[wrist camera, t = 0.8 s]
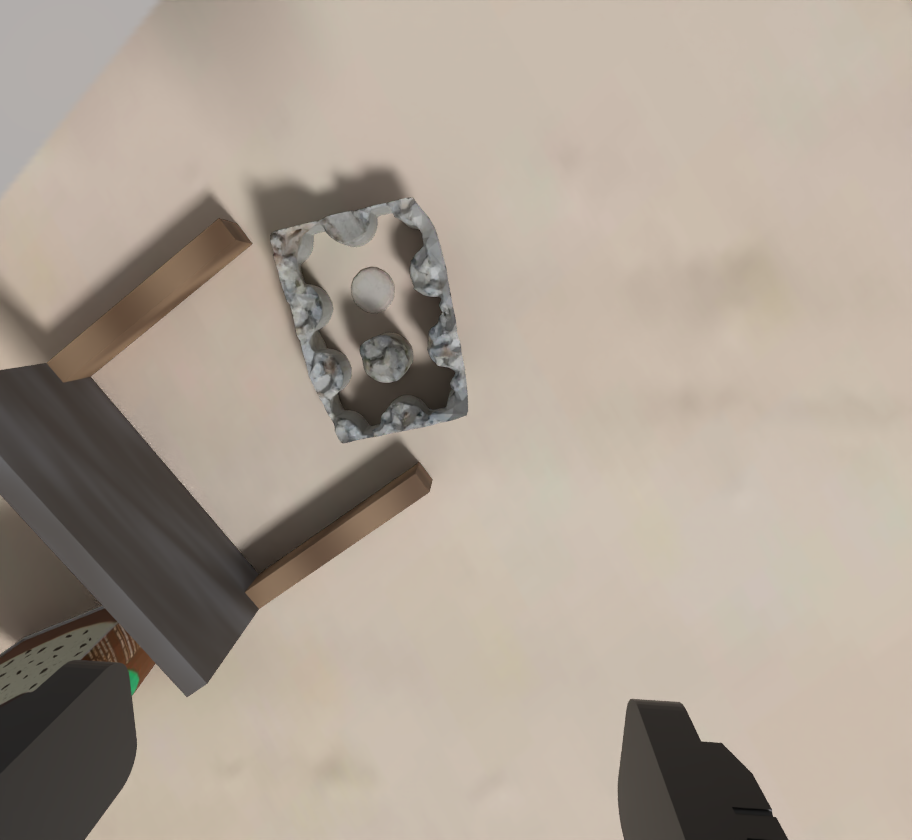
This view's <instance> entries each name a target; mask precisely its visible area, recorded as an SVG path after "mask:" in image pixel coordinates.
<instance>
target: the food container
mask: <svg viewBox="0 0 912 840" xmlns="http://www.w3.org/2000/svg"><path fill="white" fill-rule="evenodd" d="M72 660H88V661H103V662H118V663H123V664H124V665H125V666H126V667H127V669H128V672H129V676H130V685H131V694H132V695H133V694H134V693H135V691H136V690H137V688H138V687H139V686H140V684H141V683H142V682H143V680H144V679H145V677H146V676H147V675H148V673H149V672H150V670H151V669H152V668H153V666H154V665H155V664H156V663H155V662H154V661H153V660H152V659H151V658H150V657H149V655H148V654H147V653H146V652H145V651H144V650H143V649H142V648H141V647H140V646H139V645H138V644H137V642H136V641H135V640H134V639H133V638H132V637H131V636H130V635H129V634H128V633H127V632H126V630H125V629H124V628H123V627H122V626H121V625H120V624H119V623H118V622H117V621H116V620H115V619H114V617H113V616H112V615H111V614H110V613H109V612H108V611H107V610H106V609H105V608H104V607H103V606H100V607H98V608H95V609H93V610H90V611H88V612H85V613H83V614H80V615H78V616H75V617H73V618H70V619H68V620H66V621H63V622H61V623H58V624H56V625H53V626H51V627H48V628H46V629H43V630H41V631H38V632H36V633H33V634H31V635H28V636H26V637H24V638H22V639H21V640H19V641H18V642H17V643H15V644H14V645H13V646H11V647H10V648H8V649H7V650H6V651H4V652H3V653H1V654H0V708H1V707H2V706H4V705H6V704H8V703H9V702H11V701H13V700H15V699H16V698H18V697H20V696H22V695H24V694H25V693H27V692H33V691H34V690H36V689H37V688H38V687H39V686H40V685H41V684H42V683H44V682H45V681H46V680H47V679H48V678H49V677H50V676H52V675H53V674H54V673H55V672H56V671H57V670H58V669H59V668H61V667H62V666H63V665H64V664H66V663H67V662H69V661H72Z"/></svg>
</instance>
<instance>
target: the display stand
mask: <svg viewBox="0 0 912 840" xmlns="http://www.w3.org/2000/svg"><path fill="white" fill-rule="evenodd" d="M250 245H252V243H251V241H250V240H249V239H248V238H247V236H246V235H245V234H244V232H243V231H242V230H241V228H240V227H239V226H238V224H236V223H233V222H230V221H227V220H223V219H220V218H219V219H217V220H216V221H215V222H214V223H213V224H211V225H210V226H209V227H208V228H207V229H206V230H204V231H203V232H202V233H201V234H200V235H198V236H197V237H196V238H195V239H194V240H192V241H191V242H190V243H189V244H188V245H186V246H185V247H184V248H183V249H182V250H181V251H179V252H178V253H177V254H176V255H175V256H173V257H172V258H171V259H170V260H169V261H167V262H166V263H165V264H164V265H163V266H161V267H160V268H159V269H158V270H157V271H156V272H154V273H153V274H152V275H151V276H150V277H148V278H147V279H146V280H145V281H144V282H142V283H141V284H140V285H139V286H138V287H136V288H135V289H134V290H133V291H132V292H130V293H129V294H128V295H127V296H126V297H125V298H123V299H122V300H121V301H120V302H119V303H117V304H116V305H115V306H114V307H113V308H111V309H110V310H109V311H108V312H107V313H105V314H104V315H103V316H102V317H101V318H100V319H98V320H97V321H96V322H95V323H94V324H92V325H91V326H90V327H89V328H88V329H86V330H85V331H84V332H83V333H82V334H80V335H79V336H78V337H77V338H76V339H75V340H73V341H72V342H71V343H70V344H69V345H67V346H66V347H65V348H64V349H63V350H61V351H60V352H59V353H58V354H57V355H55V356H54V357H53V358H52V359H51V360H50V361H48V362H47V363H44V364H37V365H31V366H25V367H18V368H12V369H5V370H0V495H1V496H2V497H3V498H4V499H5V500H6V501H7V502H8V503H9V505H10V506H11V507H12V508H13V509H14V510H15V511H16V512H17V513H18V514H19V515H20V517H21V518H22V519H23V520H24V521H25V522H26V523H27V524H28V525H29V526H30V527H31V528H32V530H33V531H34V532H35V533H36V534H37V535H38V536H39V537H40V538H41V539H42V540H43V541H44V543H45V544H46V545H47V546H48V547H49V548H50V549H51V550H52V551H53V552H54V553H55V555H56V556H57V557H58V558H59V559H60V560H61V561H62V562H63V563H64V564H65V565H66V566H67V568H68V569H69V570H70V571H71V572H72V573H73V574H74V575H75V576H76V577H77V578H78V579H79V581H80V582H81V583H82V584H83V585H84V586H85V587H86V588H87V589H88V590H89V591H90V592H91V594H92V595H93V596H94V597H95V598H96V599H97V600H98V601H99V602H100V603H101V604H102V606H103V607H104V608H105V609H106V610H107V611H108V612H109V613H110V614H111V615H112V616H113V617H114V619H115V620H116V621H117V622H118V623H119V624H120V625H121V626H122V627H123V628H124V629H125V630H126V632H127V633H128V634H129V635H130V636H131V637H132V638H133V639H134V640H135V641H136V642H137V644H138V645H139V646H140V647H141V648H142V649H143V650H144V651H145V652H146V653H147V654H148V655H149V657H150V658H151V659H152V660H153V661H154V662H155V663H156V664H157V665H158V666H159V667H160V668H161V670H162V671H163V672H164V673H165V674H166V675H167V676H168V677H169V678H170V679H171V680H172V681H173V683H174V684H175V685H176V686H177V687H178V688H179V689H180V690H181V691H182V692H183V693H184V695H185V696H186V697H188V696H190V695H191V694H193V693H194V692H195V691H197V690H198V689H200V688H201V687H203V686H204V685H206V684H207V683H208V682H209V680H210V679H211V677H212V676H213V675H214V673H215V672H216V670H217V669H218V667H219V666H220V664H221V663H222V662H223V660H224V659H225V657H226V656H227V654H228V653H229V651H230V650H231V649H232V647H233V646H234V644H235V643H236V641H237V640H238V639H239V637H240V636H241V634H242V633H243V631H244V630H245V628H246V627H247V626H248V624H249V623H250V621H251V620H252V618H253V617H254V615H255V614H256V613H257V611H258V610H259V609H260V608H261V607H263V606H264V605H265V604H267V603H268V602H270V601H271V600H273V599H274V598H276V597H277V596H279V595H280V594H282V593H283V592H284V591H286V590H287V589H289V588H290V587H292V586H293V585H295V584H296V583H298V582H299V581H301V580H302V579H303V578H305V577H306V576H308V575H309V574H311V573H312V572H314V571H315V570H317V569H318V568H319V567H321V566H322V565H324V564H325V563H327V562H328V561H330V560H331V559H333V558H334V557H336V556H337V555H338V554H340V553H341V552H343V551H344V550H346V549H347V548H349V547H350V546H352V545H353V544H355V543H356V542H357V541H359V540H360V539H362V538H363V537H365V536H366V535H368V534H369V533H371V532H372V531H373V530H375V529H376V528H378V527H379V526H381V525H382V524H384V523H385V522H387V521H388V520H390V519H391V518H392V517H394V516H395V515H397V514H398V513H400V512H401V511H403V510H404V509H406V508H407V507H409V506H410V505H411V504H413V503H414V502H416V501H417V500H419V499H420V498H422V497H423V496H425V495H426V494H427V493H429V492H430V488H431V484H432V478H431V477H430V476H429V474H428V473H427V472H426V470H425V469H424V468H423V466H422V465H421V464H420V463H418V464H416V465H415V466H413V467H412V468H410V469H409V470H408V471H406V472H405V473H403V474H402V475H400V476H399V477H397V478H396V479H395V480H393V481H392V482H390V483H389V484H387V485H386V486H385V487H383V488H382V489H380V490H379V491H377V492H376V493H375V494H373V495H372V496H370V497H369V498H367V499H366V500H365V501H363V502H362V503H360V504H359V505H357V506H356V507H355V508H353V509H352V510H350V511H349V512H347V513H346V514H344V515H343V516H342V517H340V518H339V519H337V520H336V521H334V522H333V523H332V524H330V525H329V526H327V527H326V528H324V529H323V530H322V531H320V532H319V533H317V534H316V535H314V536H313V537H312V538H310V539H309V540H307V541H306V542H304V543H303V544H301V545H300V546H299V547H297V548H296V549H294V550H293V551H291V552H290V553H289V554H287V555H286V556H284V557H283V558H281V559H280V560H279V561H277V562H276V563H274V564H273V565H271V566H270V567H269V568H267V569H266V570H264V571H263V572H261V573H260V574H258V573H257V572H256V571H255V569H254V568H253V567H252V566H251V565H250V564H249V562H248V561H247V560H246V559H245V558H244V557H243V555H242V554H241V553H240V552H239V551H238V549H237V548H236V547H235V546H234V545H233V544H232V542H231V541H230V540H229V539H228V538H227V537H226V535H225V534H224V533H223V532H222V531H221V530H220V528H219V527H218V526H217V525H216V524H215V523H214V521H213V520H212V519H211V518H210V517H209V516H208V514H207V513H206V512H205V511H204V510H203V509H202V507H201V506H200V505H199V504H198V503H197V501H196V500H195V499H194V498H193V497H192V496H191V494H190V493H189V492H188V491H187V490H186V489H185V487H184V486H183V485H182V484H181V483H180V482H179V480H178V479H177V478H176V477H175V476H174V475H173V473H172V472H171V471H170V470H169V469H168V468H167V466H166V465H165V464H164V463H163V462H162V460H161V459H160V458H159V457H158V456H157V455H156V453H155V452H154V451H153V450H152V449H151V448H150V446H149V445H148V444H147V443H146V442H145V441H144V439H143V438H142V437H141V436H140V435H139V434H138V432H137V431H136V430H135V429H134V428H133V427H132V425H131V424H130V423H129V422H128V421H127V420H126V418H125V417H124V416H123V415H122V414H121V412H120V411H119V410H118V409H117V408H116V407H115V405H114V404H113V403H112V402H111V401H110V400H109V398H108V397H107V396H106V395H105V394H104V393H103V391H102V390H101V389H100V388H99V387H98V386H97V384H96V383H95V382H94V381H93V380H92V379H91V376H92V375H93V374H94V373H96V372H97V371H98V370H99V369H100V368H102V367H103V366H104V365H105V364H107V363H108V362H109V361H110V360H111V359H113V358H114V357H115V356H116V355H118V354H119V353H120V352H121V351H122V350H124V349H125V348H126V347H127V346H128V345H130V344H131V343H132V342H133V341H135V340H136V339H137V338H138V337H139V336H141V335H142V334H143V333H144V332H146V331H147V330H148V329H149V328H150V327H152V326H153V325H154V324H155V323H157V322H158V321H159V320H160V319H161V318H163V317H164V316H165V315H166V314H168V313H169V312H170V311H171V310H172V309H174V308H175V307H176V306H177V305H178V304H180V303H181V302H182V301H183V300H185V299H186V298H187V297H188V296H189V295H191V294H192V293H193V292H194V291H196V290H197V289H198V288H199V287H200V286H202V285H203V284H204V283H205V282H207V281H208V280H209V279H210V278H211V277H213V276H214V275H215V274H216V273H218V272H219V271H220V270H221V269H222V268H224V267H225V266H226V265H227V264H228V263H230V262H231V261H232V260H233V259H235V258H236V257H237V256H238V255H239V254H241V253H242V252H243V251H244V250H246V249H247V248H248V247H249V246H250Z"/></svg>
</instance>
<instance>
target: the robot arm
mask: <svg viewBox="0 0 912 840" xmlns="http://www.w3.org/2000/svg"><path fill="white" fill-rule="evenodd" d="M136 750H137V738H136V730H135V721H134V712H133V703H132V694H131V685H130V676H129V672H128V669H127V667H126V666H125V665H124V664H123V663H118V662H103V661H88V660H72V661H69V662H67V663H66V664H64V665H63V666H62V667H61V668H59V669H58V670H57V671H56V672H55V673H54V674H53V675H52V676H50V677H49V678H48V679H47V680H46V681H45V682H44V683H42V684H41V685H40V686H39V687H38V688H37V689H36V690H34V691H33V692H27V693H25V694H24V695H22V696H20V697H18V698H16V699H15V700H13V701H11V702H9V703H8V704H6V705H4V706H2V707H1V708H0V840H85V838H86V837H87V836H88V834H89V833H90V832H91V830H92V829H93V828H94V826H95V825H96V823H97V822H98V821H99V819H100V818H101V817H102V815H103V814H104V813H105V811H106V810H107V809H108V807H109V806H110V804H111V803H112V802H113V800H114V799H115V798H116V796H117V795H118V794H119V792H120V791H121V789H122V788H123V786H124V785H125V783H126V781H127V779H128V777H129V775H130V772H131V770H132V767H133V764H134V760H135V756H136ZM618 806H619V815H620V822H621V828H622V832H623V836H624V840H788V838H787V836H786V835H785V833H784V831H783V829H782V827H781V825H780V824H779V822H778V820H777V818H776V817H773V815H772V809H771V807H770V805H769V803H768V802H767V800H766V798H765V796H764V794H763V792H762V791H761V789H760V787H759V785H758V783H757V781H756V780H755V778H754V776H753V774H752V773H751V772H750V771H749V770H748V769H747V768H746V767H745V766H744V765H743V764H742V763H741V762H740V761H739V760H738V759H737V758H736V757H735V756H734V755H733V754H732V753H731V752H730V751H729V750H728V749H727V748H726V747H725V746H724V745H723V744H722V743H714V742H701V740H700V738H699V736H698V734H697V732H696V730H695V728H694V725H693V723H692V721H691V719H690V717H689V715H688V713H687V711H686V709H685V707H684V706H683V704H681V703H680V702H670V701H655V700H640V699H630V701H629V702H628V705H627V710H626V718H625V726H624V735H623V743H622V752H621V760H620V769H619V777H618Z"/></svg>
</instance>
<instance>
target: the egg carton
mask: <svg viewBox="0 0 912 840" xmlns="http://www.w3.org/2000/svg"><path fill="white" fill-rule="evenodd" d="M391 213H393V215H394V217H396V218H398V219H400V220H402V222H403V223H405V224H406V225H407V226H408V227H410V228H414V229H420V231H421V233H422V237H423V243H424V245H423V247H422V248H421V249H420V250H419V251H418V252H417V253H416V254H415V255H414V257H413V259H412V260H411V265H410V277H411V280H412V282H413V285H414V289H415V290H416V291H418V292H420V293H421V294H423V295H425V296H432V297H440V298H441V302H440V304H439V307H440V309H441V311H442V314H441V315H440V317H439V322H438V323H437V324H436V325H435V326H434V327H432V328H431V329H430V331H429V340H428V349H427V350H428V353H429V355H430V357H431V359H432V360H433V361H434V362H435V363H436V365H438V366H442V367H449V368H451V369H452V370H454V372H455V376H454V377H453V379H452V380H451V382H450V385H451V388H452V390H451V391H450V394H449V397H448V401H447V407H445V408H440V409H435V410H431V409H430V408H428V407H427V406H426V404H425V403H424V402H423V401H422V400H420V399H419V398H417V397H415V396H412V395H403V396H400V397H398V398H396V399H395V400H394V401H393V402H392V403H391V404H390V406H389V407H388V408H387V410H386V411H385V412H384V413H383V415H382V416H381V423H380V424H378V425H374V426H370V425H369V424H368V422H367V421H366V420H365V418H364V417H363V416H362V415H361V414H359V413H358V412H355V411H352V410H344V409H343V407H342V405H341V403H340V400H339V394H338V392H339V391H341V390H342V389H344V388H345V387H346V385H347V384H348V383H349V381H350V379H351V377H352V367H351V365H350V362H349V360H348V359H347V358H346V356H345V355H344V354H342V353H341V352H339V351H336V350H333V349H328V348H327V347H326V344H325V342H324V340H323V338H322V336H321V334H320V332H319V329H321V328H323V327H324V326H325V325H326V324H328V322H329V320H330V319H331V316H332V312H333V305H332V301H331V299H330V297H329V296H328V294H327V293H326V292H325V291H324V290H323V289H322V288H320V287H318V286H315V285H310V284H306V283H305V281H304V278H303V275H302V272H301V264H302V263H303V262H304V261H305V260H307V259H308V257H309V256H310V255H311V253H312V250H313V242H314V234H317V233H321V232H325V231H326V233H327V234H328V235H329V236H330V237H331V238H333V239H334V240H336V241H338V242H340V243H342V244H344V245H347V246H350V247H360V246H363V245H365V244H367V243H368V242H369V241H370V240H372V238H373V237H374V236H375V233H376V230H377V225H378V223H377V217H379V216H381V215H387V214H391ZM270 241H271V244H272V247H273V251H274V254H273V256H274V259H275V263H276V266H277V269H278V272H279V278H280V282H281V285H282V288H283V291H284V294H285V297H286V300H287V302H288V303H289V304H290V307H291V311H292V315H293V319H294V324H295V329H296V333H297V336H298V338H299V340H300V343H301V347H302V351H303V355H304V358H305V361H306V365H307V370H308V374H309V377H310V379H311V381H312V383H313V385H314V388H315V390H316V392H317V394H318V396H319V398H320V400H321V401H322V403H323V404H324V407H325V409H326V411H327V413H328V415H329V417H330V418H331V420H332V421H333V423H334V425H335V432H336V434H337V437H338V439H339V440H340V441H341V443H347V442H352V441H355V440H359V439H364V438H370V437H376V436H381V435H386V434H390V433H396V432H401V431H406V430H410V429H415V428H421V427H426V426H431V425H434V424H437V423H442V422H447V421H451V420H455V419H457V418H460V417H463V416H466V415H467V412H468V395H467V384H466V376H465V368H464V362H463V357H462V353H461V345H460V340H459V338H458V335H457V328H456V319H455V314H454V310H453V305H452V299H451V294H450V288H449V283H448V277H447V270H446V265H445V262H444V258H443V254H442V250H441V247H440V243H439V239H438V236H437V233H436V230H435V227H434V225H433V224H432V222H431V220H430V219H429V217H428V216H427V215H426V214H425V212H424V211H423V210H422V209H421V208H420V206H419V205H418V204H417V203H416V201H415V200H414V198H404V199H400V200H396V201H392V202H389V203H383V204H379V205H375V206H370V207H367V208H363V209H360V210H356V211H352V210H351V211H348V212H343V213H338V214H334V215H330V216H326V217H325V218H323V219H321V220H319V221H315V222H310V223H305V224H301V225H297V226H293V227H289V228H285V229H281V230H277V231H274V232H273V233H271V235H270ZM351 293H352V297H353V299H354V302H356V305H357V306H358V307H360V308H361V309H362V310H364V311H366V312H369V313H380V312H382V311H384V310H386V309H387V308H388V307H389V306H390V305H391V303H392V301H393V298H394V293H395V287H394V283H393V281H392V279H391V277H390V276H389V275H388V274H387V273H386V272H384V271H383V270H381V269H379V268H374V267H371V268H366V269H364V270H362V271H360V273H359V274H357V275H356V277H355V278H354V279H353V283H352V285H351ZM443 312H445V315H446V316H444V313H443ZM360 354H361V357H362V360H363V366H364V370H365V372H366V373H367V375H369V376H370V377H372V378H373V379H375V380H376V381H379V382H382V383H383V382H384V383H391V382H394V381H398V380H399V379H400V378H401V377H402V376H403V375H404V374H405V373H406V372H407V371H408V369H409V367H410V366H411V364H412V362H413V349H412V346H411V345H410V343H409V342H408V341H407V340H406V339H405V338H403V337H402V336H401V335H399V334H397V333H389V332H388V333H384V334H381V335H379V336H376V337H373V338H371V339H369V340H367V341H365V342H364V343H363V344H362V345H361V347H360Z"/></svg>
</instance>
